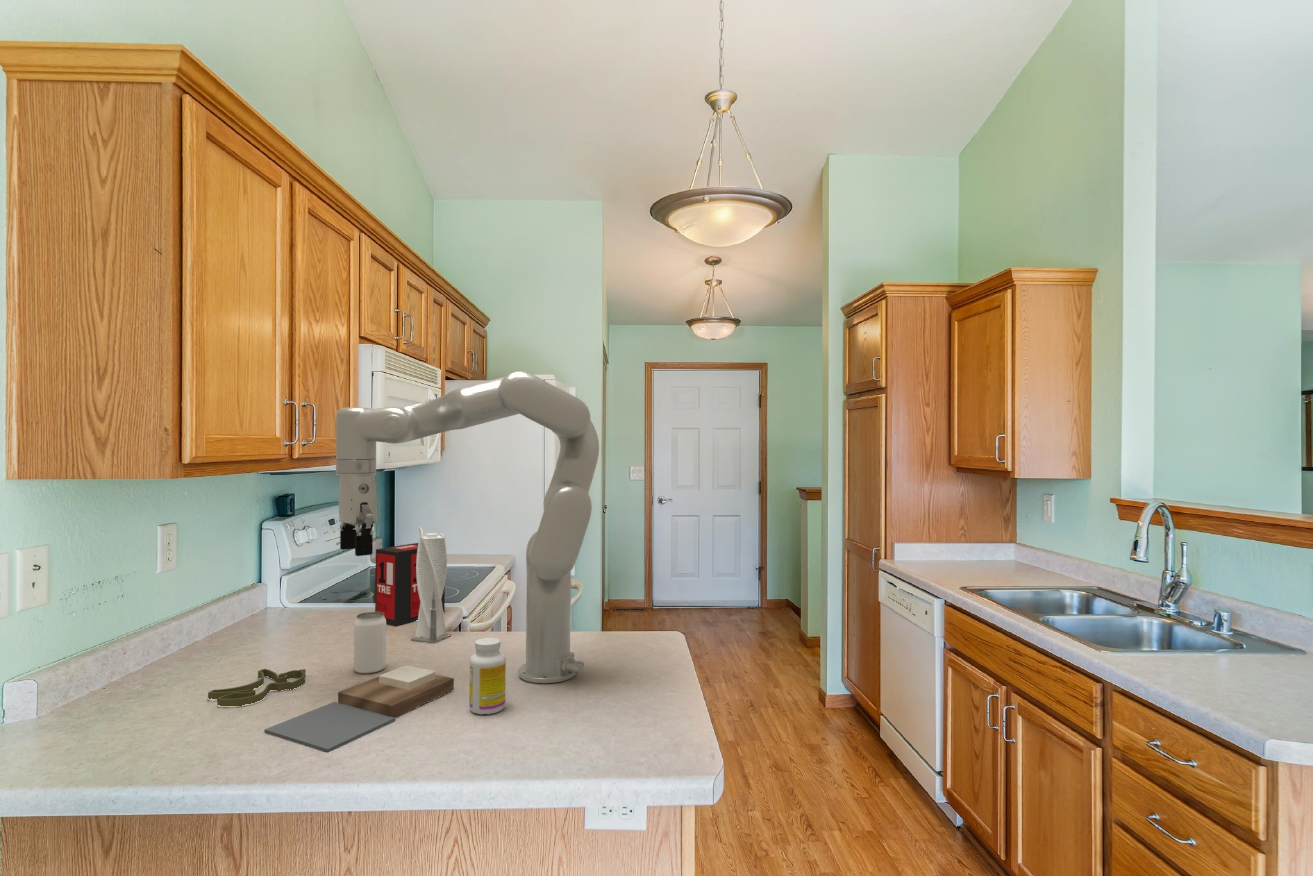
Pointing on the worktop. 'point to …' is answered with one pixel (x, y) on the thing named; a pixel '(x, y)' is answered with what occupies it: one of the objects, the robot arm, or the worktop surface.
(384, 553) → the cleaning product box
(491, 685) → the supplement bottle
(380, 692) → the brown wooden flat block
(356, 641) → the can
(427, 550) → the skyscraper
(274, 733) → the mat
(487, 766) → the worktop surface
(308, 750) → the worktop surface
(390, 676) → the tile
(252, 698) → the cookie cutter
